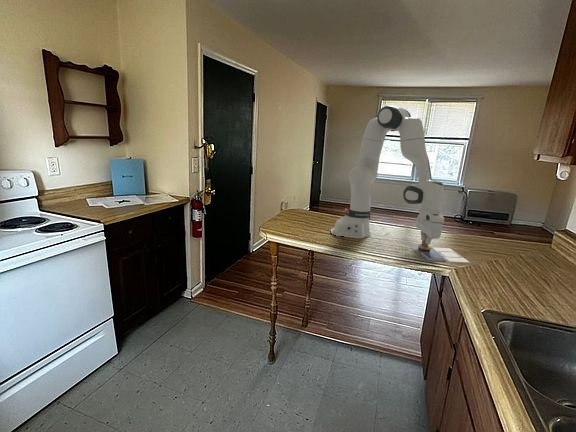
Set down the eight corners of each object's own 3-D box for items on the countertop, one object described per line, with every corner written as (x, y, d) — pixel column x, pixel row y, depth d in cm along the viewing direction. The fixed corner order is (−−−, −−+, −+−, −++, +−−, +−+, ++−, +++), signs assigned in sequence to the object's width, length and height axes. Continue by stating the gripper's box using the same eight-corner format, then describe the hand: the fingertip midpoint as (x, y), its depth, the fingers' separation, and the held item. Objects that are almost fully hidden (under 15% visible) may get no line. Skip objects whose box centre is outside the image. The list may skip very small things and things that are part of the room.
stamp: (421, 251, 150) (423, 235, 148) (417, 248, 154) (420, 232, 152) (430, 251, 150) (433, 235, 148) (426, 248, 154) (429, 233, 152)
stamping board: (426, 263, 138) (426, 258, 137) (409, 248, 157) (410, 243, 157) (471, 266, 138) (472, 260, 137) (449, 250, 157) (450, 245, 157)
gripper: (414, 209, 158) (410, 235, 161) (432, 219, 138) (427, 248, 141) (427, 209, 158) (423, 235, 161) (446, 219, 138) (441, 249, 141)
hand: (425, 242), depth 151 cm, fingers open, 4 cm apart
